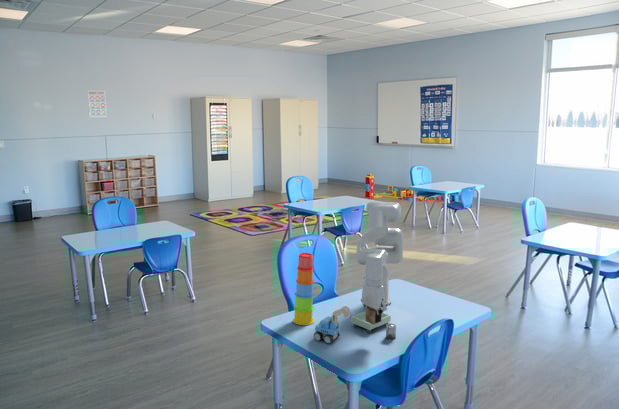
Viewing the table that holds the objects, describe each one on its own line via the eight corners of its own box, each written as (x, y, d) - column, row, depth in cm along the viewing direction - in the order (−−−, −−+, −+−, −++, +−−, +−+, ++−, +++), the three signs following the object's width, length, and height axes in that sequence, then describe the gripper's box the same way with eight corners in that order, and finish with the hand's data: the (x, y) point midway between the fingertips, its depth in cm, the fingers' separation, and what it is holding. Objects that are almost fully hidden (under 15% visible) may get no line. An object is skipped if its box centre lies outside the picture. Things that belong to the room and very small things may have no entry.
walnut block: (365, 321, 224) (365, 308, 223) (372, 317, 227) (373, 305, 226) (373, 324, 220) (373, 312, 219) (381, 321, 224) (381, 308, 222)
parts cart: (351, 326, 242) (351, 316, 242) (371, 318, 252) (372, 308, 251) (369, 334, 234) (369, 323, 233) (390, 325, 243) (390, 315, 242)
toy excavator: (344, 348, 220) (344, 311, 217) (311, 339, 228) (311, 304, 225) (352, 341, 227) (353, 305, 224) (321, 333, 235) (321, 298, 232)
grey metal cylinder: (384, 337, 230) (384, 325, 229) (390, 334, 233) (390, 322, 232) (391, 340, 227) (391, 328, 226) (397, 337, 230) (397, 325, 229)
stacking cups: (301, 315, 256) (300, 250, 250) (317, 320, 250) (317, 253, 244) (288, 322, 247) (287, 255, 241) (305, 327, 242) (304, 258, 236)
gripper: (353, 278, 224) (353, 316, 228) (383, 289, 211) (382, 328, 215) (365, 274, 229) (365, 311, 232) (394, 284, 216) (393, 323, 220)
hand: (373, 319), depth 224 cm, fingers closed on walnut block, 5 cm apart
